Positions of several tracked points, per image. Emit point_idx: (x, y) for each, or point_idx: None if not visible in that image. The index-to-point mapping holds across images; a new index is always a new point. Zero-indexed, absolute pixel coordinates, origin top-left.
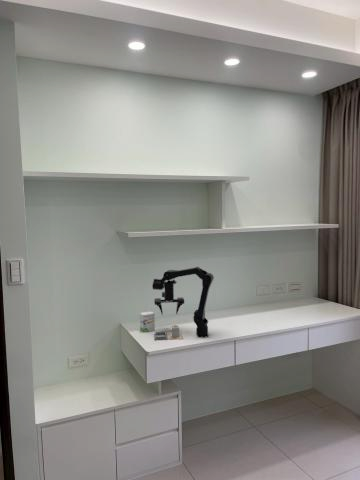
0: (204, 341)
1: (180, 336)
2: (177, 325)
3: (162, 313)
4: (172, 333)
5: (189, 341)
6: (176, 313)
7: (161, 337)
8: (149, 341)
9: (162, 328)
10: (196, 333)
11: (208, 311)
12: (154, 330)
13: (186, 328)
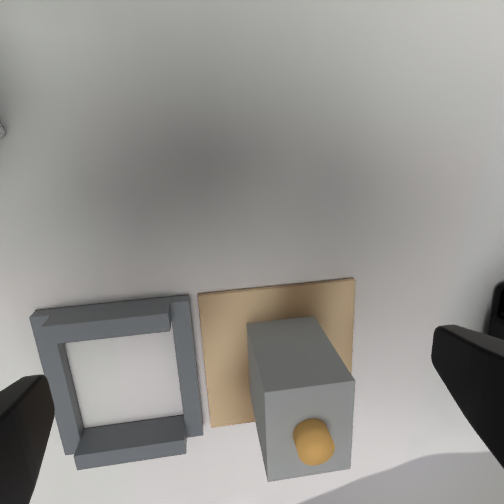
0: None
1: None
2: (344, 382)
3: (42, 459)
4: (257, 429)
5: (389, 449)
6: (445, 384)
7: (137, 455)
8: None
9: (112, 47)
10: (496, 334)
11: None
12: (2, 136)
13: (438, 84)
